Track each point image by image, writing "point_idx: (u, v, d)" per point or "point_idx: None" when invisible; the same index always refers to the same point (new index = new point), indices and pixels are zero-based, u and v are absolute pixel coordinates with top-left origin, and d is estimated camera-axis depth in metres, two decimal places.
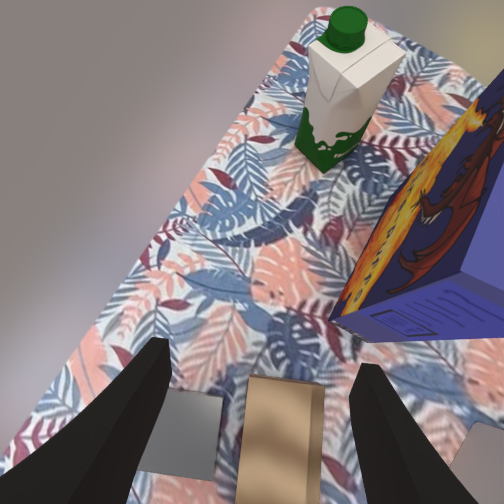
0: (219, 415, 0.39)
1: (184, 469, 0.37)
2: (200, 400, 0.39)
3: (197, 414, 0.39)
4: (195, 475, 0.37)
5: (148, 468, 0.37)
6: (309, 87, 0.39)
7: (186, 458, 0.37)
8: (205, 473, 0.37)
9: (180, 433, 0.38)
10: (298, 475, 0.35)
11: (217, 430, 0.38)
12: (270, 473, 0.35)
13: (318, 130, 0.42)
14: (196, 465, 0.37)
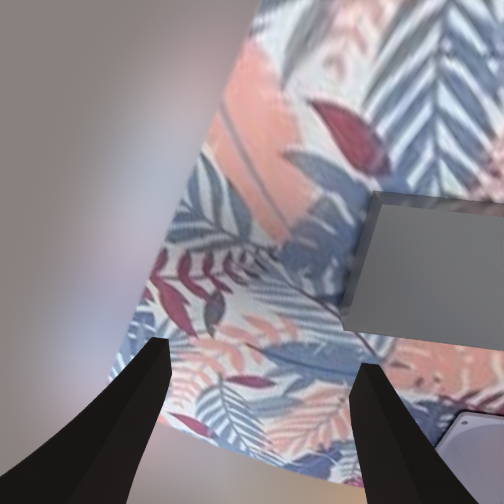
0: None
1: (482, 339, 0.20)
2: None
3: None
4: (502, 346, 0.20)
5: (412, 334, 0.20)
6: None
7: (492, 326, 0.19)
8: None
9: (491, 291, 0.18)
10: None
11: None
12: None
13: None
14: None
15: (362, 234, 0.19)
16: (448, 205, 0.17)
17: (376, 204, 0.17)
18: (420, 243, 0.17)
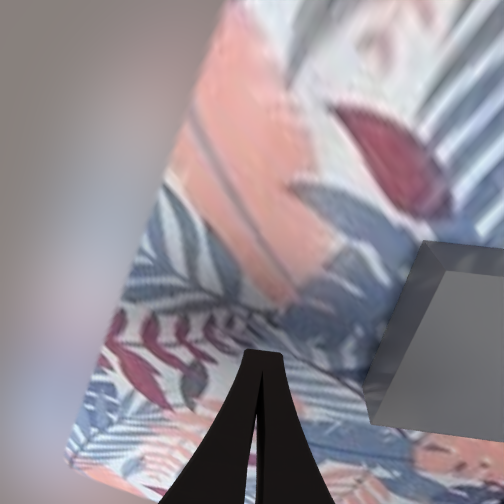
0: None
1: None
2: None
3: None
4: None
5: (467, 432, 0.15)
6: None
7: None
8: None
9: None
10: None
11: None
12: None
13: None
14: None
15: (402, 299, 0.13)
16: None
17: (431, 265, 0.11)
18: (498, 324, 0.11)
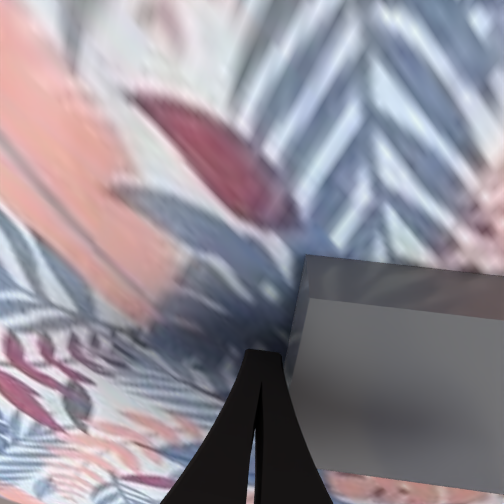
0: None
1: (492, 483, 0.12)
2: None
3: None
4: None
5: (380, 472, 0.13)
6: None
7: None
8: None
9: None
10: None
11: None
12: None
13: None
14: None
15: (294, 323, 0.11)
16: (436, 293, 0.09)
17: (306, 288, 0.09)
18: (385, 359, 0.09)
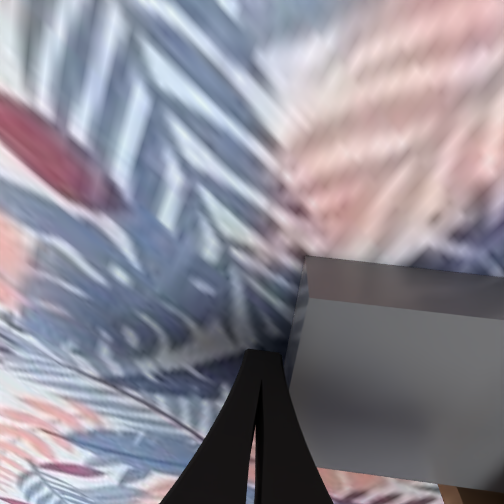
0: None
1: (491, 481, 0.12)
2: None
3: None
4: None
5: (380, 470, 0.13)
6: None
7: None
8: None
9: None
10: None
11: None
12: None
13: None
14: None
15: (293, 323, 0.11)
16: (434, 293, 0.09)
17: (305, 288, 0.09)
18: (384, 357, 0.09)
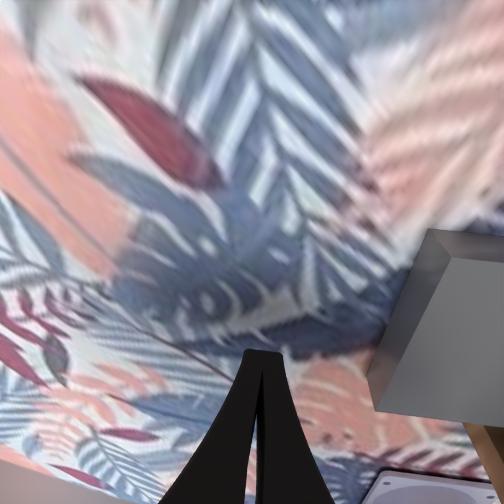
0: None
1: None
2: None
3: None
4: None
5: (470, 418, 0.15)
6: None
7: None
8: None
9: None
10: None
11: None
12: None
13: None
14: None
15: (407, 287, 0.13)
16: None
17: (437, 252, 0.11)
18: (502, 310, 0.11)
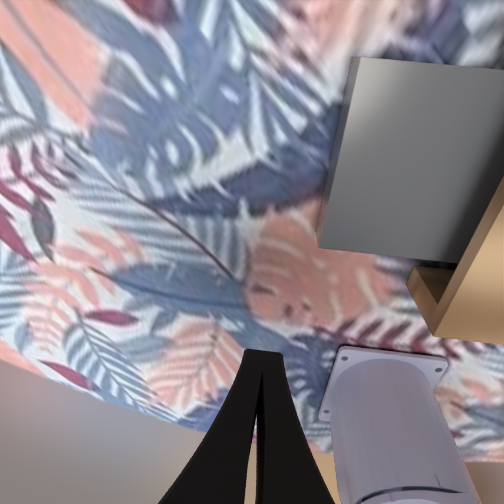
0: None
1: None
2: None
3: None
4: None
5: (400, 250, 0.17)
6: None
7: None
8: None
9: (496, 184, 0.15)
10: None
11: None
12: None
13: None
14: None
15: (339, 121, 0.16)
16: None
17: (354, 67, 0.14)
18: (409, 116, 0.14)
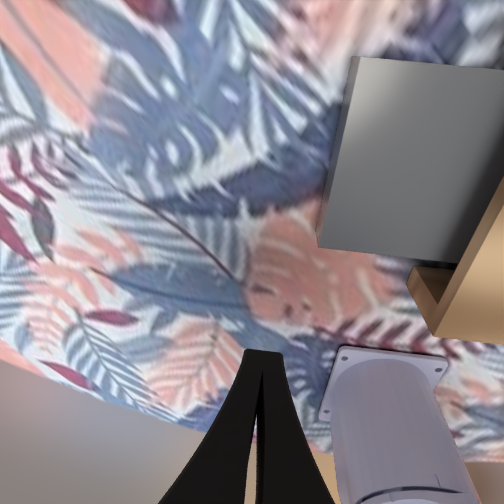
0: None
1: None
2: None
3: None
4: None
5: (399, 250, 0.17)
6: None
7: None
8: None
9: (495, 184, 0.15)
10: None
11: None
12: None
13: None
14: None
15: (339, 120, 0.16)
16: None
17: (354, 66, 0.14)
18: (409, 115, 0.14)
